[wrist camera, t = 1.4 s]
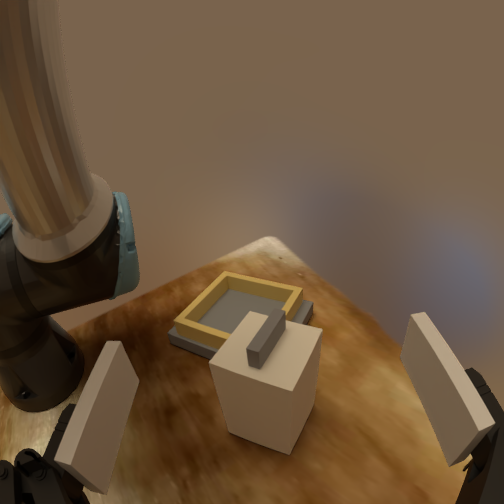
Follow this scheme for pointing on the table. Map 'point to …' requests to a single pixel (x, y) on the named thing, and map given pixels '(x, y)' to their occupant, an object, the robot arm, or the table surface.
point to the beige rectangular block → (268, 378)
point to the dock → (233, 310)
